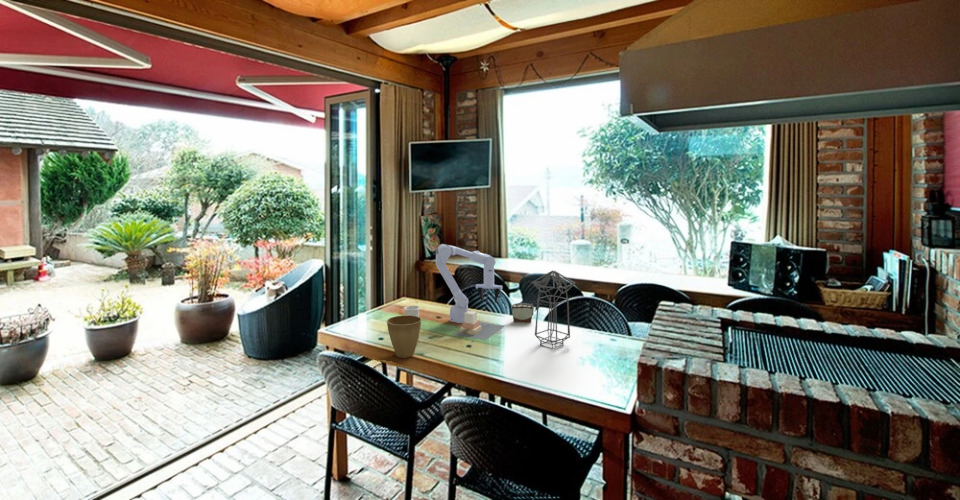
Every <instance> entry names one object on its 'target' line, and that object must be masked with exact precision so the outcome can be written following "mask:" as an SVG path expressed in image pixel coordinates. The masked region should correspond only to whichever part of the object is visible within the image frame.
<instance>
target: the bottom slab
mask: <svg viewBox="0 0 960 500" xmlns="http://www.w3.org/2000/svg"><path fill="white" fill-rule="evenodd" d="M459 331H460V333H464V334H471V335H476V334H477V333H479V332H480V331H482V326H481V325H479V326H478V327H477V328H475V329H468V328H463V326H461V327H460V328H459Z"/></svg>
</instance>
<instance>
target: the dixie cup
mask: <svg viewBox="0 0 960 500" xmlns="http://www.w3.org/2000/svg"><path fill="white" fill-rule="evenodd" d="M420 309H421V307H420V306H419V305H407V306H405V307H404V308H403V310H404V314H405V315H411V316H417V317H420Z"/></svg>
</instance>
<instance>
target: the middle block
mask: <svg viewBox="0 0 960 500" xmlns="http://www.w3.org/2000/svg"><path fill="white" fill-rule="evenodd" d="M479 322H480V321H479V320H477V322H475V323H473V324H470V323H465V322H464V323H462V327H463V328H468V329H475V328H477V327H478V326H479Z"/></svg>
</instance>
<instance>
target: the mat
mask: <svg viewBox="0 0 960 500" xmlns="http://www.w3.org/2000/svg"><path fill="white" fill-rule="evenodd" d="M479 325H481V326H482V331H480V332H479V333H477V334H476V335H471V334H464V333H460V330H459V331H457V332H455V333H453V334H452V335H453V336H459V337H465V338H472V339H477V340H483V341H487V340H489V339H490V338H491V337H492V336H493V335H495V334H496V333H498V332H499V331H501V329H504V327H505V325H503V324H495V323H487V322H482V321H479Z"/></svg>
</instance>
